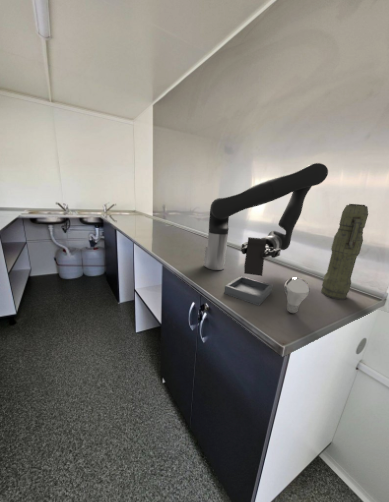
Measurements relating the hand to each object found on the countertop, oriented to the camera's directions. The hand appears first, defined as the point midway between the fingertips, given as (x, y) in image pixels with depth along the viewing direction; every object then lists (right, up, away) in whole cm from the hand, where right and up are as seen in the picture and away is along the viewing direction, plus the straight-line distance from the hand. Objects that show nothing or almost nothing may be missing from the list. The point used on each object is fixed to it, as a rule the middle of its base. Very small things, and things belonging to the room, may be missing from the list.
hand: (252, 253), depth 74 cm
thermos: (+35, -17, +11) cm, 40 cm away
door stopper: (+1, -7, +4) cm, 8 cm away
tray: (0, -15, +6) cm, 16 cm away
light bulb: (+11, -19, -6) cm, 23 cm away
